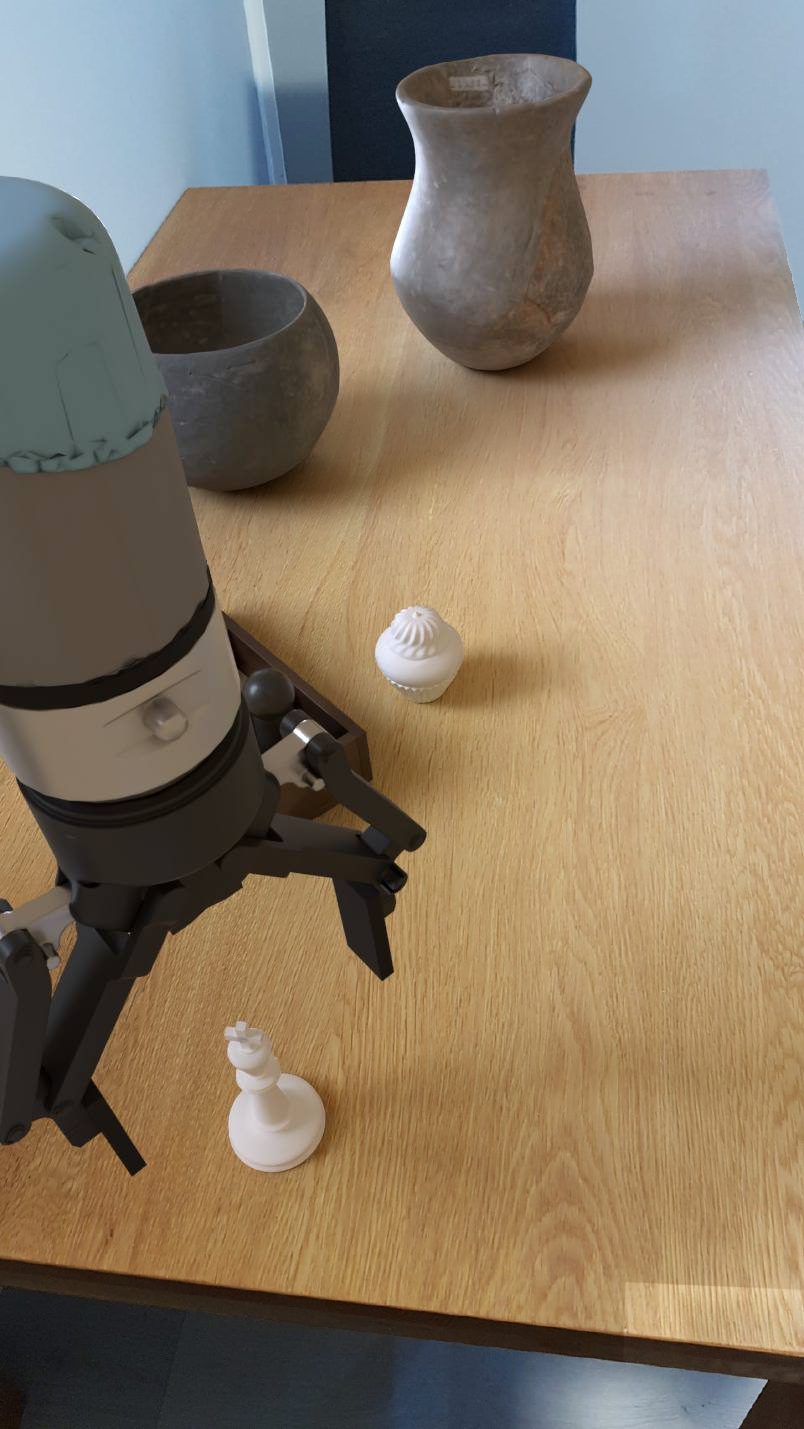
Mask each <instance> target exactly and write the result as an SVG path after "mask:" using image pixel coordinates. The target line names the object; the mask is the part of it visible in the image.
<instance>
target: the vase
mask: <svg viewBox="0 0 804 1429" xmlns="http://www.w3.org/2000/svg"><path fill="white" fill-rule="evenodd" d="M592 85H593V77H592V75H591V73H590V72H589V70H588V69H586V67H584V66H583V65H582V64H580V63H578V62H576V61H574V60H572V59H570V58H564V57H560V56H555V55H548V54H541V53H498V54H497V53H496V54H488V55H484V56H476V57H472V58H471V57H470V58H467V59H459V60H454V61H453V60H452V61H447V62H446V61H444V62H440V63H435V64H431V65H430V64H429V65H425V66H424V67H421V68H419V69H417V70H415V71H413V72H412V73H410V74H409V75H407V76H406V77H404V78H403V79H402V80H400V82H399V83H398V85H397V86H396V89H395V99H396V102H397V103H398V104H397V105H398V107H399V109H400V111H401V113H402V115H403V117H404V119H405V121H406V123H407V125H408V128H409V131H410V133H411V136H412V139H413V145H414V154H415V171H414V177H413V181H412V187H411V190H410V194H409V197H408V199H407V200H408V201H407V203H406V207H405V210H404V212H403V216H402V219H401V222H400V225H399V228H398V231H397V234H396V237H395V240H394V242H393V246H392V250H391V255H390V261H389V268H390V277H391V281H392V285H393V287H394V290H395V292H396V295H397V297H398V300H399V302H400V304H401V306H402V308H403V310H404V311H405V313H406V315H407V316H408V318H409V319H410V321H411V322H412V323H413V325H414V326H415V328H416V329H417V330H418V331H419V333H420V334H421V335H422V336H423V337H424V338H425V339H426V340H427V342H429V344H431V345H432V346H433V347H434V348H435V349H437V351H439V352H440V353H441V354H443V356H445V357H446V358H448V359H449V360H451V361H452V362H454V363H456V364H458V365H461V366H464V367H465V368H470V369H475V370H479V371H501V370H507V369H511V368H514V367H518V366H521V365H523V364H524V365H525V364H526V363H528V362H530V361H531V360H533V359H534V358H536V357H537V356H539V355H540V354H541V353H542V352H544V351H545V350H546V349H547V348H549V347H550V346H551V345H552V344H553V343H554V342H556V340H558V339H559V338H560V337H561V336H562V335H563V334H564V333H565V332H566V330H567V329H568V328H569V327H570V325H571V324H572V322H573V321H575V318H577V316H578V315H579V312H580V310H581V308H582V306H583V303H584V301H585V299H586V296H587V293H588V289H589V287H590V285H591V282H592V279H593V278H594V271H595V265H594V264H595V263H594V255H593V254H594V253H593V242H592V241H593V240H592V235H591V230H590V227H589V221H588V218H587V216H586V215H587V214H586V210H585V206H584V204H583V200H582V197H581V192H580V189H579V188H580V187H579V185H578V181H577V178H576V173H575V168H574V165H573V156H572V145H571V139H572V130H573V127H574V125H575V122H576V120H577V117H578V116H579V113H580V111H581V109H582V107H583V106H584V104H585V102H586V99H587V97H588V95H589V92H590V90H591V88H592Z"/></svg>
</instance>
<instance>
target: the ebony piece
mask: <svg viewBox="0 0 804 1429" xmlns="http://www.w3.org/2000/svg"><path fill="white" fill-rule="evenodd" d="M242 693H243V695H244V697H245V700H246V702H247V705H248V709H249V713H250V714H251V715H252V719H253V723H254V727H255V731H256V735H257V739H258V743H259V746H260V747H259V749H260V753H261V755H262V754H264V753H265V752H266V751H268V750H269V749H270V748H272V747H273V746H274V745H276V744H277V743H278V742H280V741H281V740H282V739H283V738H282V735H281V733H280V724H281V721H282V720H283V718H284V717H285V716H286V715H287V714H288V713H289V712H291V711H293V710H294V709H293V703H294V698H295V691H294V686H293V684H292V682H291V680H290V679H289V677H288V676H287V675H285V674H284V673H283V672H281V671H279V670H277V669H272V668H264V669H260V670H257V671H255V672H254V673H252V674H251V675H250V676H249V677H248V678H247V680H246V681H245V683H244V686H243V689H242Z"/></svg>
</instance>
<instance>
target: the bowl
mask: <svg viewBox="0 0 804 1429" xmlns="http://www.w3.org/2000/svg"><path fill="white" fill-rule="evenodd" d="M131 294H132V297H133V300H134V303H135V306H136V309H137V311H138V314H139V317H140V320H141V323H142V326H143V329H144V332H145V335H146V338H147V341H148V344H149V347H150V350H151V352H152V353H153V354H154V356H155V357H156V358H157V360H158V362H159V363H160V365H161V370H162V375H163V376H164V381H165V386H166V388H167V390H168V401H167V406H168V410H169V414H170V418H171V422H172V426H173V430H174V434H175V438H176V442H177V446H178V450H179V454H180V458H181V462H182V466H183V470H184V474H185V478H186V482H187V486H188V487H191V488H194V489H201V490H207V491H216V492H226V491H227V492H228V491H235V490H236V491H237V490H244V489H245V490H246V489H248V488H252V487H256V486H259V485H262V484H265V483H267V482H270V481H272V480H275V479H277V478H280V477H282V476H283V475H285V474H287V473H289V472H290V471H291V470H293V469H294V468H295V467H297V465H299V464H300V463H301V462H302V461H303V460H304V459H305V458H307V456H309V454H311V452H312V451H313V449H314V448H315V446H316V445H317V443H318V442H319V441H320V438H321V437H322V435H323V433H324V431H325V429H326V428H327V426H328V424H329V422H330V420H331V418H332V416H333V413H334V410H335V407H336V405H337V400H338V396H339V392H340V391H339V390H340V379H341V378H340V376H341V375H340V374H341V373H340V372H341V367H340V358H339V356H340V355H339V350H338V344H337V340H336V336H335V334H334V333H335V332H334V330H333V328H332V325H331V324H330V322H329V320H328V317H327V315H326V313H325V312H324V310H323V309H322V307H321V306H320V304H319V303H318V302H317V300H316V299H315V298H314V296H313V295H312V294H311V293H310V292H309V291H308V289H306V288H305V287H304V285H302V283H300V282H298V281H297V280H295V279H294V278H292V277H290V276H288V275H285V274H283V273H280V272H277V271H271V270H266V269H256V268H254V269H253V268H244V267H243V268H239V267H238V268H235V267H234V268H233V267H232V268H231V267H229V268H227V267H223V268H209V269H202V270H194V271H189V272H185V273H181V274H180V273H179V274H176V275H173V276H169V277H166V278H161V279H159V280H156V281H153V282H151V283H148V284H144V285H141V286H139V287H137V288H135V289H133V290H132V291H131Z"/></svg>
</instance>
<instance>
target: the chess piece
mask: <svg viewBox="0 0 804 1429" xmlns="http://www.w3.org/2000/svg"><path fill="white" fill-rule="evenodd" d="M225 1027H226V1028H225V1031H224V1034H223V1036H224V1039H225V1041H229V1043H228V1045H227V1050H226V1051H227V1058H228V1060H229V1062H230V1063H231V1064H232V1065H233V1067H235V1068H236V1071H235V1072H236V1073H235V1081H236V1084H237V1086H238V1087H239V1088H240V1089H241V1091H240V1092H239V1094H238V1095H237V1096H236V1098H235V1100H234V1101H233V1103H232V1106H231V1108H230V1111H229V1115H228V1122H227V1123H228V1124H227V1128H228V1129H227V1130H228V1137H229V1142H230V1145H231V1148H232V1150H233V1152H234V1153H235V1155H236V1156H237V1157H238V1159H239V1160H240V1161H241V1162H242V1163H244V1164H245V1165H246V1166H248V1167H249V1168H251V1169H253V1170H256V1171H259V1172H264V1173H279V1172H284V1171H287V1170H290V1169H293V1168H295V1167H297V1166H299V1165H300V1164H302V1163H303V1162H305V1161H306V1160H307V1159H309V1157H310V1156H311V1155H312V1154H313V1153H314V1152H315V1151H316V1149H317V1148H318V1147H319V1144H320V1142H321V1140H322V1138H323V1135H324V1132H325V1129H326V1128H325V1127H326V1119H327V1118H326V1110H325V1106H324V1103H323V1101H322V1099H321V1096H320V1095H319V1093H318V1092H317V1091H316V1089H315V1088H314V1087H313V1086H312V1085H311V1084H310V1083H309V1081H306V1080H305V1079H303V1078H302V1077H300V1076H297V1075H295V1074H291V1073H287V1072H286V1073H285V1072H282V1066H281V1063H280V1061H279V1059H278V1058H277V1057H276V1056H275V1055H274V1054H273V1053H272V1041H271V1039H270V1036H269V1035H268V1034H267V1033H266V1032H265V1031H264V1030H262V1029H260V1028H257V1027H250V1026H249V1025H248V1022H247V1021H240V1020H237V1022H236V1025H235V1027H234V1026H225Z"/></svg>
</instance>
